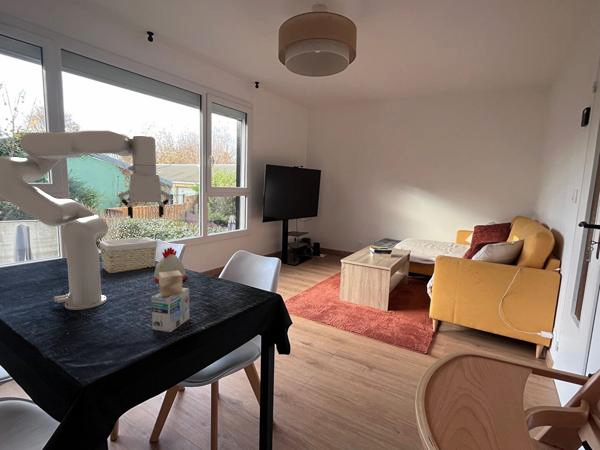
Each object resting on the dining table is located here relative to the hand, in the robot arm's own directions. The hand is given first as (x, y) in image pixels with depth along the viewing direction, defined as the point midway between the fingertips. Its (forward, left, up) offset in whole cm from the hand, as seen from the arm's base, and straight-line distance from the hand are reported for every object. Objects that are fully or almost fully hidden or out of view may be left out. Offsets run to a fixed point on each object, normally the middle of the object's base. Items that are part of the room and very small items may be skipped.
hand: (146, 217), depth 111 cm
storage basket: (-3, +55, -33) cm, 64 cm away
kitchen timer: (+12, +26, -33) cm, 43 cm away
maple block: (+4, -24, -22) cm, 33 cm away
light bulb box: (+4, -24, -33) cm, 41 cm away
